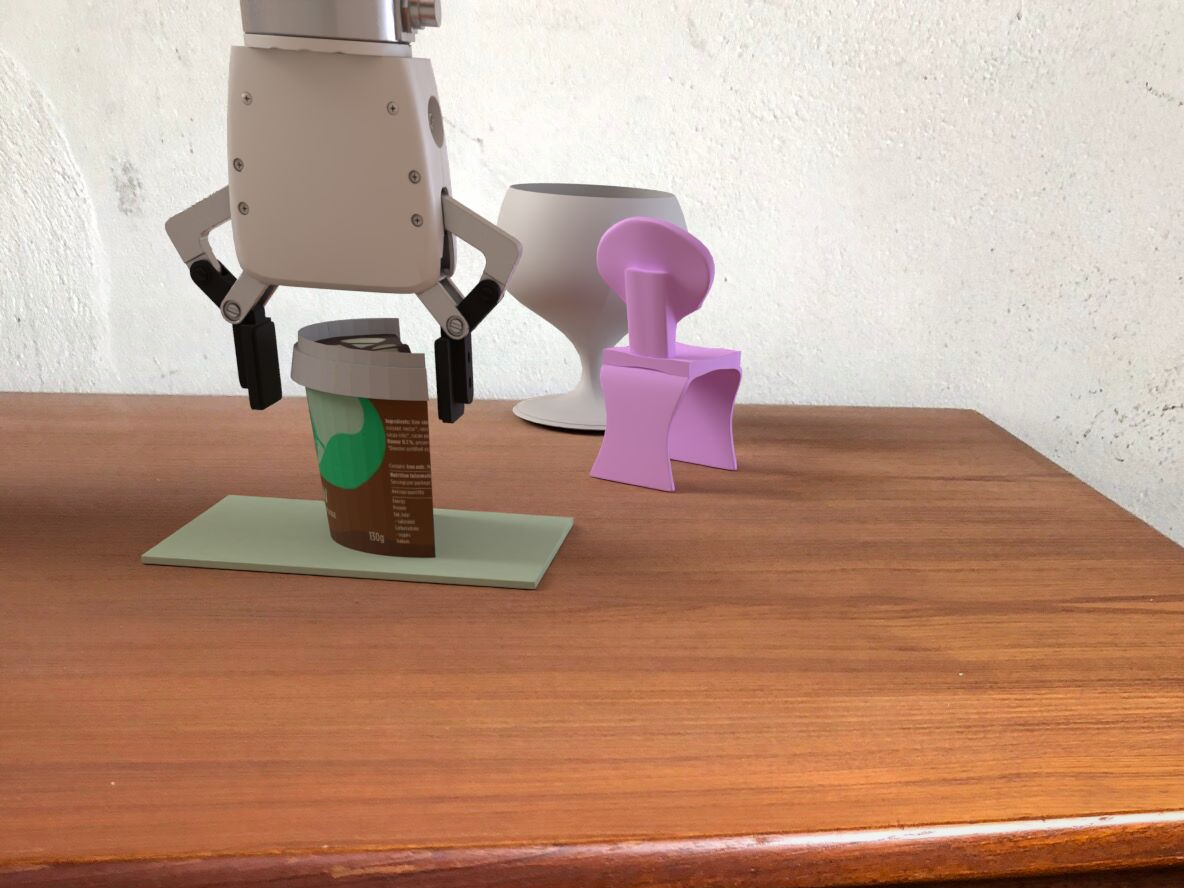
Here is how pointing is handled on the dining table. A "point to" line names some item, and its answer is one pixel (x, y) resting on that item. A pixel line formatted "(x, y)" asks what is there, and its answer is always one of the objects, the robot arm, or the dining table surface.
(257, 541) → the mat
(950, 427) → the dining table surface
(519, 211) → the chalice
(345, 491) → the food container
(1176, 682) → the dining table surface
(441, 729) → the dining table surface
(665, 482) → the toy chair
